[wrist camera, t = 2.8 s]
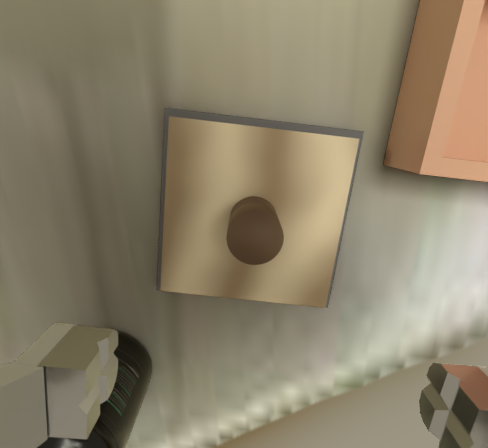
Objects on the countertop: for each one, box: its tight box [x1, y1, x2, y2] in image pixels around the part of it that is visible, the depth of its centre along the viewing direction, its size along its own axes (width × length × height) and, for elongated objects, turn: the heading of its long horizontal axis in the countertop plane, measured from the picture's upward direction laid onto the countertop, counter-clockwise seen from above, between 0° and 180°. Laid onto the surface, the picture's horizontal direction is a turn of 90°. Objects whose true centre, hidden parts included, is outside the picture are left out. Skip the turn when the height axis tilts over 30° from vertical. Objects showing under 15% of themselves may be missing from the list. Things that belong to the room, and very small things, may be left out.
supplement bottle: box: [37, 332, 152, 448], centre depth 22 cm, size 7×7×12 cm
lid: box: [160, 116, 359, 308], centre depth 21 cm, size 12×12×5 cm
